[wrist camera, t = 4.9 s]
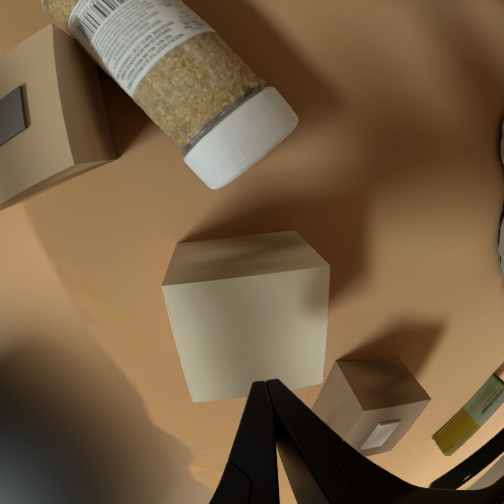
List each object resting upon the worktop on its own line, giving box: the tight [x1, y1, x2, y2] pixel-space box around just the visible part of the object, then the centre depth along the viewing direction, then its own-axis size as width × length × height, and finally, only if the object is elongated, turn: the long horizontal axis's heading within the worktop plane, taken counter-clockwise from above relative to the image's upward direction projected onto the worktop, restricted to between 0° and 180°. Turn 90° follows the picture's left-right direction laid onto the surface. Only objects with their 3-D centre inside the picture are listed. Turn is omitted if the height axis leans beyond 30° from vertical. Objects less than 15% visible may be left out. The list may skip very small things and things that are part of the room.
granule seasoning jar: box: [41, 0, 298, 189], centre depth 9 cm, size 5×5×14 cm
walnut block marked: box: [311, 359, 431, 457], centre depth 18 cm, size 6×6×5 cm
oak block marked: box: [0, 23, 118, 210], centre depth 9 cm, size 6×6×5 cm
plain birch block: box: [162, 230, 330, 402], centre depth 13 cm, size 6×6×5 cm
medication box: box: [432, 373, 504, 456], centre depth 24 cm, size 12×3×4 cm, turn 141°
